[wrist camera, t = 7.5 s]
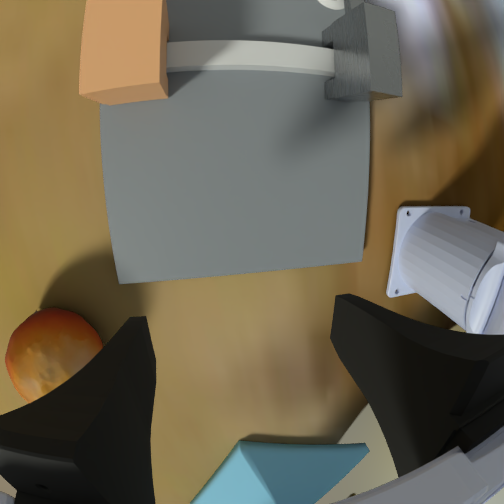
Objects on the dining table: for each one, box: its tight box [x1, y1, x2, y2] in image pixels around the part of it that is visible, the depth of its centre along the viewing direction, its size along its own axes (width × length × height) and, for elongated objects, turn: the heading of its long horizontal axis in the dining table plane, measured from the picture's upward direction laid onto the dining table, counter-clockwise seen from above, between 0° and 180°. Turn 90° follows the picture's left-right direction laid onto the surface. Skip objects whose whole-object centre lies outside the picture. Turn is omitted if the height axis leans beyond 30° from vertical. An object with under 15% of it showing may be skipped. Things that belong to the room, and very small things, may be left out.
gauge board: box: [100, 0, 370, 284], centre depth 17 cm, size 18×22×2 cm
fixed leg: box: [322, 0, 402, 103], centre depth 14 cm, size 2×9×6 cm, turn 0°
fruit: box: [5, 307, 103, 403], centre depth 18 cm, size 8×8×8 cm
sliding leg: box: [79, 0, 169, 106], centre depth 11 cm, size 4×9×6 cm, turn 0°
